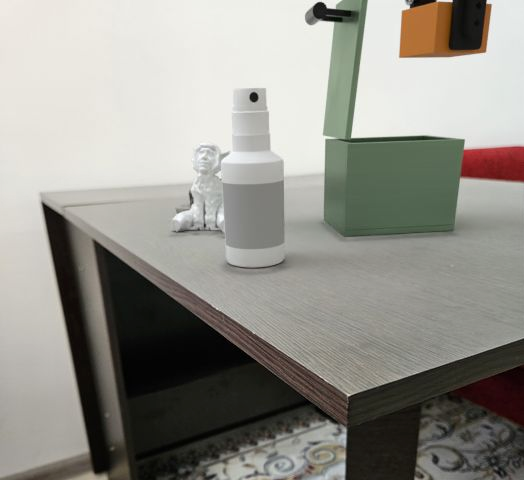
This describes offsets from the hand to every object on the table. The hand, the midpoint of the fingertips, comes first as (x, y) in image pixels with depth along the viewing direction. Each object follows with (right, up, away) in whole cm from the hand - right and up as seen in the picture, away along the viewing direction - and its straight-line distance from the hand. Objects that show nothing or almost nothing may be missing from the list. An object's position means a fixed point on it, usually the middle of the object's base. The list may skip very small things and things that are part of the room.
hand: (442, 50), depth 46 cm
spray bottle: (-17, -16, +15) cm, 28 cm away
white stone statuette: (-23, -1, +47) cm, 53 cm away
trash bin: (+2, -8, +31) cm, 32 cm away
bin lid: (-5, +10, +22) cm, 25 cm away
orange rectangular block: (0, 0, 0) cm, 0 cm away
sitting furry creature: (-24, -8, +34) cm, 42 cm away
